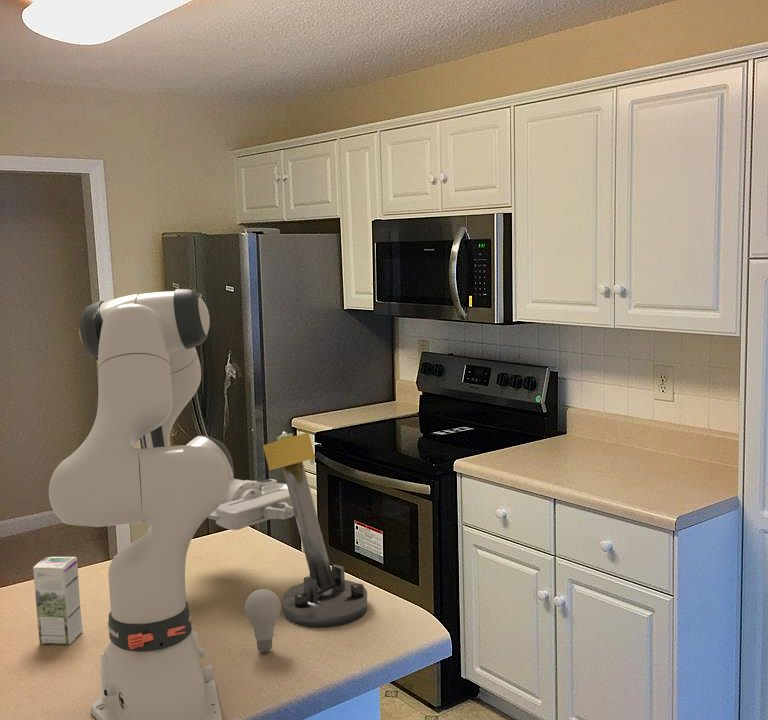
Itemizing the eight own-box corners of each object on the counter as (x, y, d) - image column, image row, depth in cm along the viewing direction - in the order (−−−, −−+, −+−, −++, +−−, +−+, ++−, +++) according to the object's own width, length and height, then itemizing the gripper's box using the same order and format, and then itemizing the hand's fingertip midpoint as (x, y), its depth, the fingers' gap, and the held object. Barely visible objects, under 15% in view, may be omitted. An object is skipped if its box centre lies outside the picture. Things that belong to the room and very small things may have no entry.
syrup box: (83, 631, 159) (78, 555, 157) (69, 646, 153) (63, 566, 151) (53, 631, 159) (47, 554, 157) (38, 645, 153) (31, 566, 152)
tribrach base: (384, 606, 166) (383, 568, 165) (327, 635, 154) (325, 595, 153) (324, 587, 176) (322, 552, 175) (265, 613, 164) (263, 576, 163)
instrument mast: (351, 584, 164) (308, 425, 167) (329, 594, 160) (285, 430, 162) (322, 588, 169) (281, 433, 172) (300, 597, 165) (259, 438, 167)
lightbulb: (272, 662, 144) (269, 599, 143) (240, 657, 146) (237, 594, 145) (289, 646, 150) (286, 585, 149) (257, 642, 152) (254, 581, 151)
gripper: (200, 499, 169) (248, 510, 160) (277, 477, 185) (325, 486, 176) (202, 530, 170) (250, 543, 161) (279, 505, 185) (326, 516, 177)
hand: (289, 513), depth 168 cm, fingers closed
